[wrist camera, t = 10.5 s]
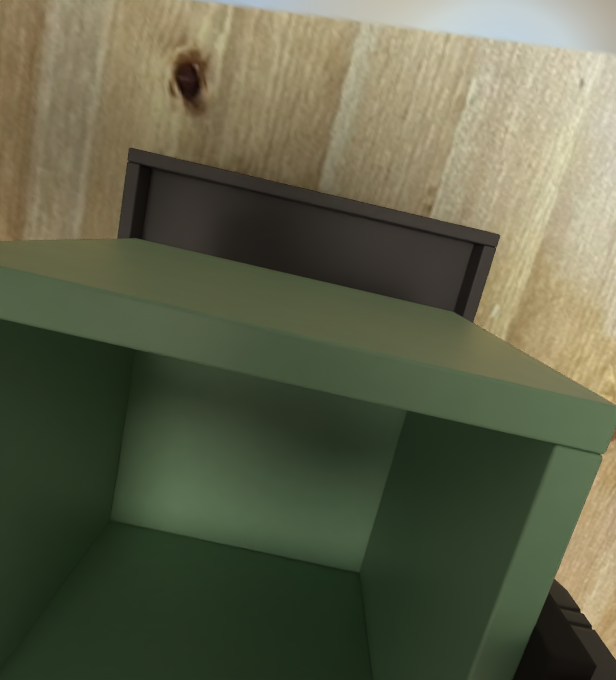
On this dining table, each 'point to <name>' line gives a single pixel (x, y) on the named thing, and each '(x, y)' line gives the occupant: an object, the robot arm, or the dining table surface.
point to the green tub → (270, 475)
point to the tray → (305, 233)
